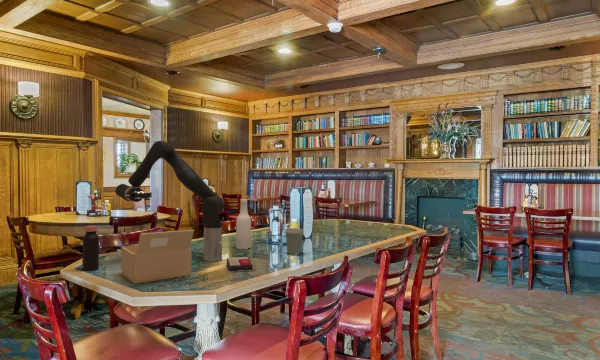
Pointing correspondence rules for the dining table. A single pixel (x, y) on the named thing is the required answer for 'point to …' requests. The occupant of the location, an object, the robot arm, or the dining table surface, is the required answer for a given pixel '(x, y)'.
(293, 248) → the disposable coffee cup
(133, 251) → the carton
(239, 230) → the alcohol
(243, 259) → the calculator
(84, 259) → the bottle
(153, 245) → the carton flap
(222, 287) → the dining table surface
